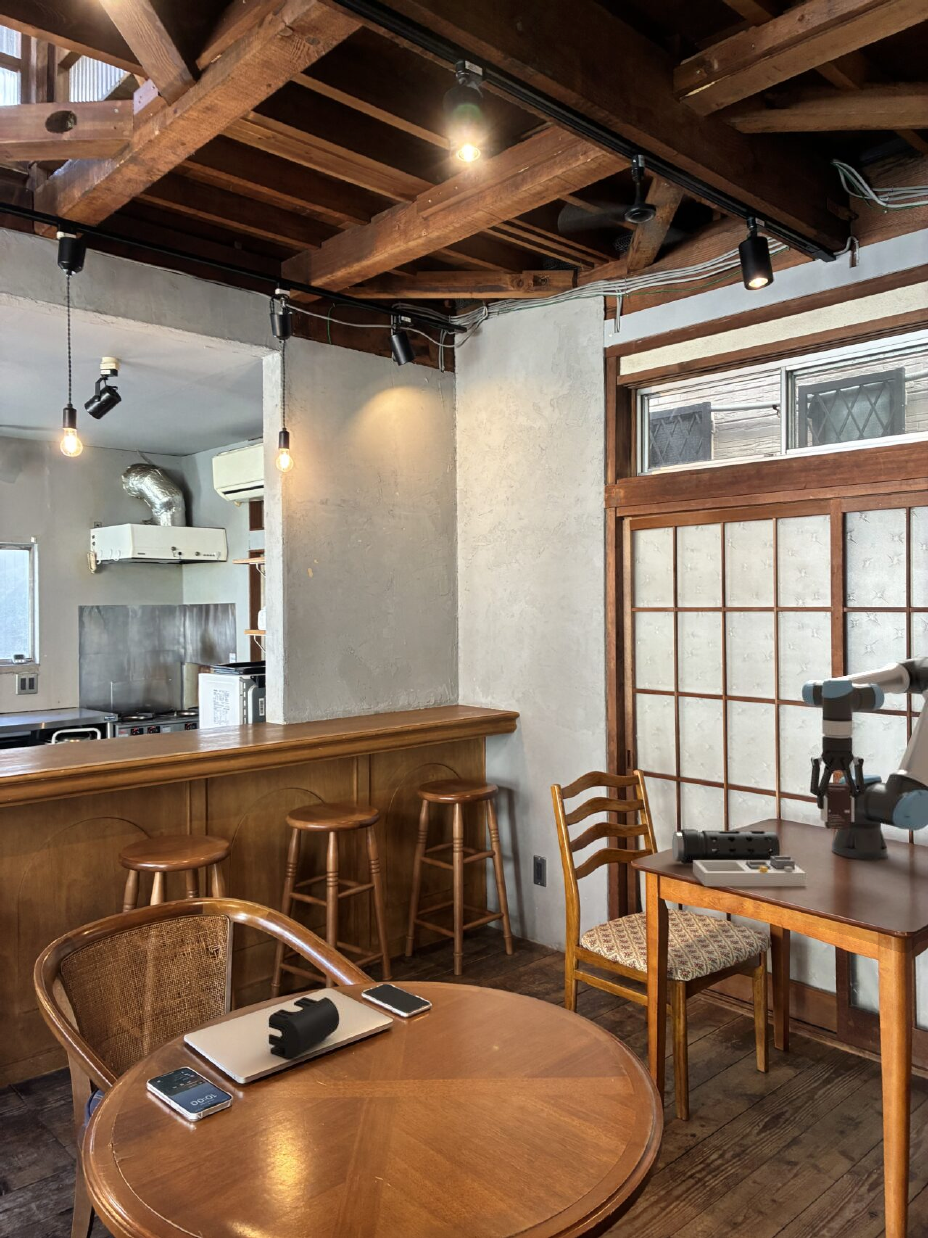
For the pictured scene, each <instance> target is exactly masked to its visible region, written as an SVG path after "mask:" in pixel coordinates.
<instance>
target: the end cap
mask: <svg viewBox="0 0 928 1238" xmlns="http://www.w3.org/2000/svg"><path fill="white" fill-rule="evenodd" d="M293 1005H294V1007H298V1008H301V1009H300V1010H297V1011H296V1010H295V1011H289V1010H286V1009H283V1008H281V1009H279V1010H278V1011H276V1012H274V1013H272V1014H271V1015H270V1016H269V1017H268V1028H271V1029H273V1030H276V1031H280V1034H281V1035H280V1036H278V1035H275V1034H272V1033H270V1034H268V1044H269V1045H271V1046H272V1047H271V1048H269V1049H270V1051H269V1052H270V1054H271V1055H273V1056H276V1057H279V1058H282V1059H285V1060H288V1061H289V1060H292V1059H294V1058H295V1057H297V1056H299V1055H300V1054H302V1053H304V1052H305V1051H307V1050H308V1049H310V1048H311V1047H314V1046H315V1045H317V1044H318V1043H320V1042H321V1041H323V1040H325V1039H326V1038H329V1036H331V1034H333V1033H334V1032H336V1030H337V1029H338V1027H339V1025H340V1013H339V1010H338V1007H337V1005H336V1004H335V1002H333V1001H332V999H330V998H328V997H323V998H321V999H319V1000H315V999H312V998H309V997H307V996H306V997H305V996H304V997H301V998H300V999H298V1000H296V1001H294V1002H293Z"/></svg>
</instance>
